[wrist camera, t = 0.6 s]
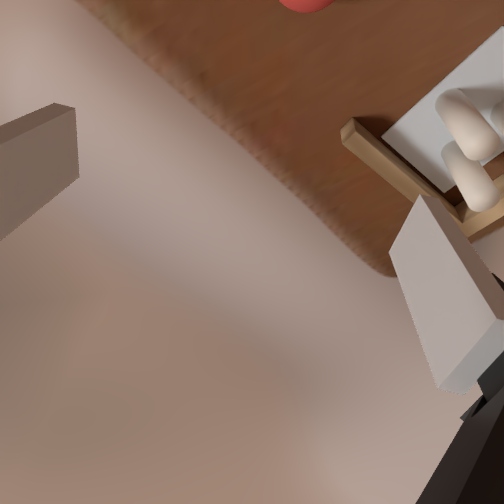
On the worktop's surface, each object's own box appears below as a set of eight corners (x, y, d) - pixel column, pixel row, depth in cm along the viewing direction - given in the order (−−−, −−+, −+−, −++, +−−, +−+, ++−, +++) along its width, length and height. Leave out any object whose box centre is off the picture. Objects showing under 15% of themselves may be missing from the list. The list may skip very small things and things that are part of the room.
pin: (457, 133, 35) (489, 182, 29) (472, 148, 36) (506, 198, 30) (435, 151, 37) (461, 201, 31) (450, 165, 38) (478, 216, 32)
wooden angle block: (517, -48, 26) (536, -44, 24) (628, 111, 33) (652, 125, 30) (332, 137, 37) (334, 151, 35) (444, 229, 43) (451, 246, 41)
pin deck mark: (502, 25, 29) (503, 26, 29) (565, 105, 33) (567, 106, 33) (380, 136, 36) (380, 137, 36) (443, 192, 40) (444, 193, 40)
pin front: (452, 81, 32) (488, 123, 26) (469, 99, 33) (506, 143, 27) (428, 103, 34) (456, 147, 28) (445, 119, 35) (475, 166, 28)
